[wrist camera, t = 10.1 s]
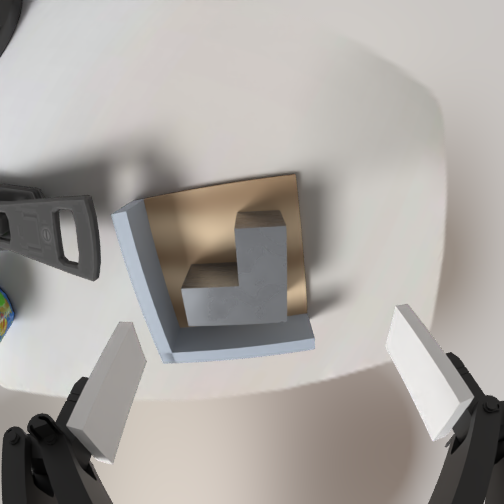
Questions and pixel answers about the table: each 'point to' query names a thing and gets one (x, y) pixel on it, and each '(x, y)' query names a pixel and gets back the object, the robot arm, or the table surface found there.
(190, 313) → the angle bracket
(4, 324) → the snack cup
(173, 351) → the corner walls
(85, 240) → the zipper pull
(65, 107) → the table surface
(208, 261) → the cork mat
